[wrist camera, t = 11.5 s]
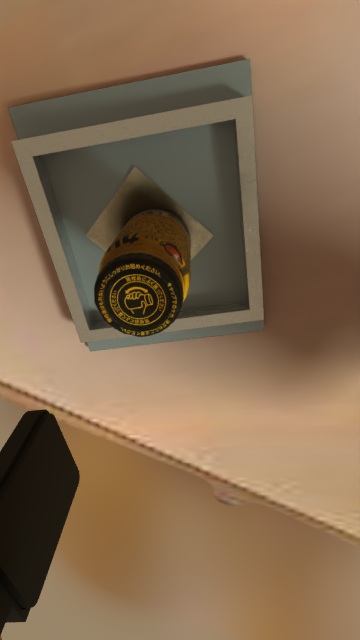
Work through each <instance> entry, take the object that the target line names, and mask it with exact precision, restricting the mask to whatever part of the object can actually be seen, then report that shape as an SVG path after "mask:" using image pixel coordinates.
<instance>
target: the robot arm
mask: <svg viewBox="0 0 360 640" xmlns="http://www.w3.org/2000/svg"><path fill="white" fill-rule="evenodd" d="M79 477H80V476H79V470H78V468H77V466H76V464H75V461H74V459H73V457H72V454H71V452H70V450H69V448H68V446H67V443H66V441H65V439H64V437H63V435H62V432H61V430H60V427H59V425H58V423H57V421H56V418H55V416H54V415H53V414H50V413H49V412H48V411H47V410H35V411H27V412H26V413H25V414H24V415H23V417H22V418H21V420H20V421H19V423H18V425H17V426H16V428H15V429H14V431H13V433H12V434H11V436H10V437H9V439H8V440H7V442H6V443H5V445H4V447H3V448H2V450H1V451H0V640H2V638H1V633H2V630H3V627H4V625H5V623H6V622H26V619H27V616H28V614H29V611H30V608H31V607H34V606H35V605H36V603H37V601H38V599H39V596H40V593H41V590H42V588H43V585H44V582H45V579H46V576H47V573H48V570H49V567H50V564H51V562H52V559H53V556H54V553H55V550H56V547H57V544H58V541H59V539H60V536H61V533H62V530H63V527H64V524H65V521H66V518H67V516H68V513H69V510H70V507H71V504H72V501H73V498H74V495H75V492H76V490H77V487H78V484H79Z"/></svg>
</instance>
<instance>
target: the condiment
mask: <svg viewBox="0 0 360 640" xmlns="http://www.w3.org/2000/svg"><path fill="white" fill-rule="evenodd" d="M213 236H214V235H212V234H211V233H210V232H209V231H208V230H207V229H206V228H205V227H203V226H202V225H201V224H200V223H199V222H198V221H197V220H195V219H194V218H193V217H192V216H191V215H190V214H189V213H188V212H187V211H185V210H184V209H183V208H182V207H181V206H180V205H178V204H177V203H176V202H175V201H174V200H173V199H171V198H170V197H169V196H168V195H167V194H166V193H165V192H163V191H162V190H161V189H160V188H159V187H158V186H157V185H156V184H155V183H153V182H152V181H151V180H150V179H149V178H147V177H146V176H145V175H144V174H143V173H142V172H141V171H139V170H138V169H137V168H136V167H134V168H133V170H132V171H131V172H130V174H129V175H128V177H127V178H126V180H125V181H124V182H123V184H122V185H121V187H120V188H119V190H118V191H117V192H116V194H115V195H114V197H113V198H112V199H111V201H110V202H109V204H108V205H107V206H106V208H105V209H104V211H103V212H102V213H101V215H100V216H99V218H98V219H97V220H96V222H95V223H94V225H93V226H92V227H91V229H90V230H89V232H88V233H87V234H86V237H87V238H89V239H90V240H91V241H92V242H94V243H95V244H97V245H98V246H99V247H101V248H102V249H103V250H104V251H105V254H104V256H103V258H102V260H101V263H100V268H99V274H98V276H97V279H96V282H95V285H94V286H95V287H94V302H95V305H96V306H97V308H98V310H99V312H100V314H101V315H102V317H103V319H104V320H105V321H106V322H107V323H108V324H109V325H111V326H112V327H113V328H114V329H117V330H118V331H120V332H122V333H123V334H128V335H133V336H137V337H146V336H151V335H154V334H157V333H160V332H162V331H163V330H165V329H166V328H168V327H169V326H170V325H171V324H172V323H173V322H174V321H175V320H176V319H177V317H178V316H179V313H180V311H181V308H182V305H183V301H184V300H185V298H186V296H187V295H188V290H189V286H190V276H191V269H190V268H191V260H192V259H193V258H194V257H195V256H196V254H197V253H198V252H199V251H200V250H201V249H202V248H203V247H204V246H205V245H206V244H207V243H208V241H209V240H210V239H211V238H212V237H213Z"/></svg>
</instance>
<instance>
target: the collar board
mask: <svg viewBox="0 0 360 640" xmlns="http://www.w3.org/2000/svg"><path fill="white" fill-rule="evenodd" d="M8 110H9V113H10V116H11V119H12V122H13V125H14V128H15V131H16V134H17V137H18V140H15V141H11V143H12V146H13V149H14V152H15V154H16V157H17V160H18V163H19V166H20V169H21V172H22V175H23V177H24V180H25V183H26V186H27V189H28V192H29V195H30V198H31V200H32V203H33V206H34V209H35V212H36V215H37V218H38V221H39V224H40V226H41V229H42V232H43V235H44V238H45V241H46V244H47V247H48V249H49V252H50V255H51V258H52V261H53V264H54V267H55V270H56V272H57V275H58V278H59V281H60V284H61V287H62V290H63V293H64V296H65V298H66V301H67V304H68V307H69V310H70V313H71V316H72V319H73V321H74V324H75V327H76V330H77V333H78V336H79V339H80V342H81V343H83V342H87V344H88V347H89V350H90V351H98V350H106V349H114V348H122V347H131V346H139V345H147V344H155V343H163V342H171V341H179V340H187V339H195V338H204V337H212V336H220V335H228V334H236V333H244V332H252V331H260V330H264V311H263V292H262V273H261V254H260V235H259V216H258V197H257V178H256V159H255V141H254V122H253V103H252V89H251V70H250V59H246V60H241V61H236V62H231V63H226V64H221V65H216V66H211V67H206V68H201V69H196V70H191V71H186V72H181V73H177V74H172V75H167V76H162V77H157V78H152V79H147V80H142V81H137V82H132V83H127V84H122V85H117V86H112V87H107V88H102V89H97V90H92V91H87V92H82V93H77V94H72V95H67V96H62V97H57V98H52V99H47V100H42V101H37V102H32V103H27V104H22V105H17V106H12V107H8ZM134 167H136V168H137V169H138V170H139V171H141V172H142V173H143V174H144V175H145V176H146V177H147V178H149V179H150V180H151V181H152V182H153V183H155V184H156V185H157V186H158V187H159V188H160V189H161V190H162V191H163V192H165V193H166V194H167V195H168V196H169V197H170V198H171V199H173V200H174V201H175V202H176V203H177V204H178V205H180V206H181V207H182V208H183V209H184V210H185V211H187V212H188V213H189V214H190V215H191V216H192V217H193V218H194V219H195V220H197V221H198V222H199V223H200V224H201V225H202V226H203V227H205V228H206V229H207V230H208V231H209V232H210V233H211V234H212V235H214V236H213V237H212V238H211V239H210V240H209V241H208V243H207V244H206V245H205V246H204V247H203V248H202V249H201V250H200V251H199V252H198V253H197V254H196V256H195V257H194V258H193V259H192V260H191V268H190V269H191V276H190V286H189V290H188V295H187V296H186V298H185V300H184V301H183V305H182V308H181V311H180V313H179V316H178V317H177V319H176V320H175V321H174V322H173V323H172V324H171V325H170V326H169V327H168V328H166V329H165V330H163V331H162V332H160V333H157V334H154V335H151V336H146V337H137V336H133V335H128V334H123V333H122V332H120V331H118V330H117V329H114V328H113V327H112V326H111V325H109V324H108V323H107V322H106V321H105V320H104V319H103V317H102V315H101V314H100V312H99V310H98V308H97V306H96V305H95V302H94V287H95V286H94V285H95V282H96V279H97V276H98V274H99V268H100V263H101V260H102V258H103V256H104V254H105V251H104V250H103V249H102V248H101V247H99V246H98V245H97V244H95V243H94V242H92V241H91V240H90V239H89V238H87V237H86V234H87V233H88V232H89V230H90V229H91V227H92V226H93V225H94V223H95V222H96V220H97V219H98V218H99V216H100V215H101V213H102V212H103V211H104V209H105V208H106V206H107V205H108V204H109V202H110V201H111V199H112V198H113V197H114V195H115V194H116V192H117V191H118V190H119V188H120V187H121V185H122V184H123V182H124V181H125V180H126V178H127V177H128V175H129V174H130V172H131V171H132V170H133V168H134Z"/></svg>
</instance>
